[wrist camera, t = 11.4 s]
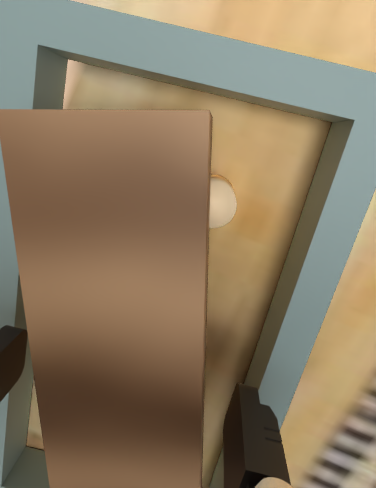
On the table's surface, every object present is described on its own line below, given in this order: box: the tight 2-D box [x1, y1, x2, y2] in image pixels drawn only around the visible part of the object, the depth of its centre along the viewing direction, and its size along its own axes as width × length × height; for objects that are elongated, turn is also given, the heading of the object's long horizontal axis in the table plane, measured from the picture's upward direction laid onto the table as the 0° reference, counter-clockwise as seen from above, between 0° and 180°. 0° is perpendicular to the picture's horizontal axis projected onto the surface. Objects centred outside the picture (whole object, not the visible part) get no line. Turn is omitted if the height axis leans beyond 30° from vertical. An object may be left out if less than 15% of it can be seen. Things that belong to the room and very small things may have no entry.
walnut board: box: [0, 109, 212, 488], centre depth 13 cm, size 18×6×4 cm, turn 179°
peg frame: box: [0, 0, 376, 488], centre depth 16 cm, size 24×14×2 cm, turn 167°
